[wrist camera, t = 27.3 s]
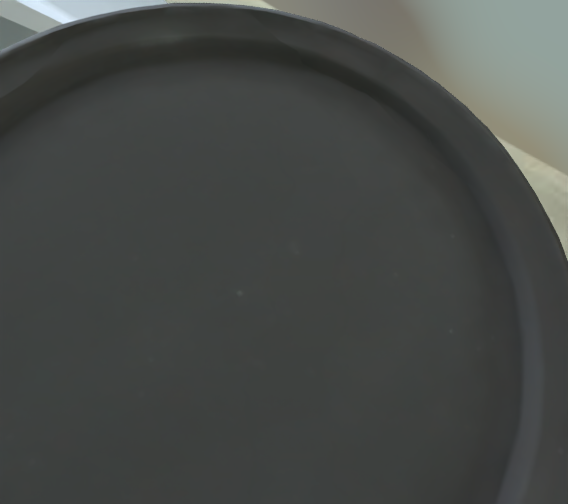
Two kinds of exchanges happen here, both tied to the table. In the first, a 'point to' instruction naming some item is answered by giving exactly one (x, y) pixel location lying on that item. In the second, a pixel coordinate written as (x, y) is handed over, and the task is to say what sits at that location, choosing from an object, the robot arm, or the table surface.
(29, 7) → the tablet stand
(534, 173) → the table surface
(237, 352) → the coffee can
